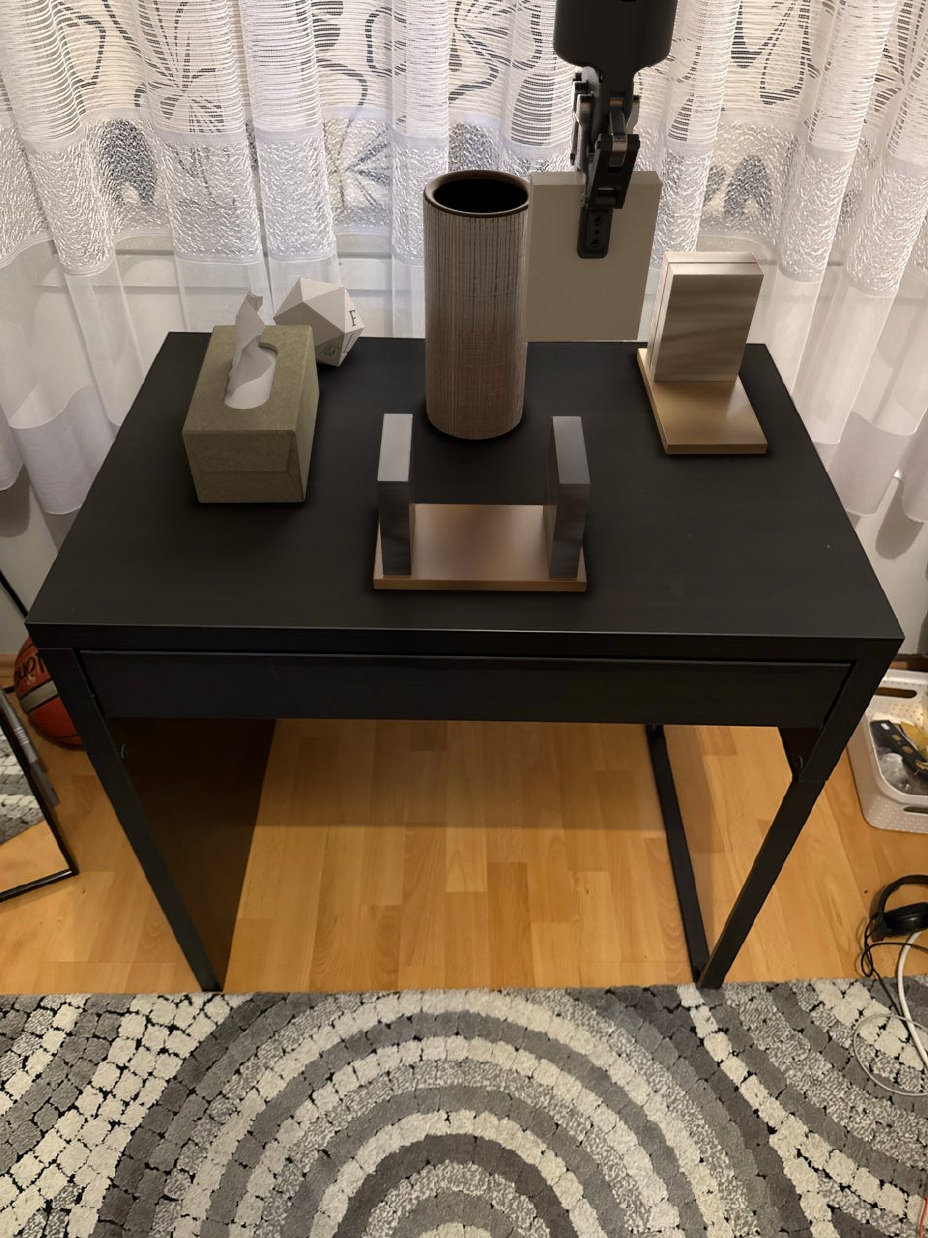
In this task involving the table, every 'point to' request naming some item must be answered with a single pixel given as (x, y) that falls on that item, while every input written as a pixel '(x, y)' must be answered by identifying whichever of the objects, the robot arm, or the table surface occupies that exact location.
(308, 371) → the tissue box
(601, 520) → the table surface
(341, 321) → the die
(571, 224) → the cream book
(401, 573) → the grey book rack
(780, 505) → the table surface
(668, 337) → the cream book rack
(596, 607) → the table surface
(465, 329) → the planter
